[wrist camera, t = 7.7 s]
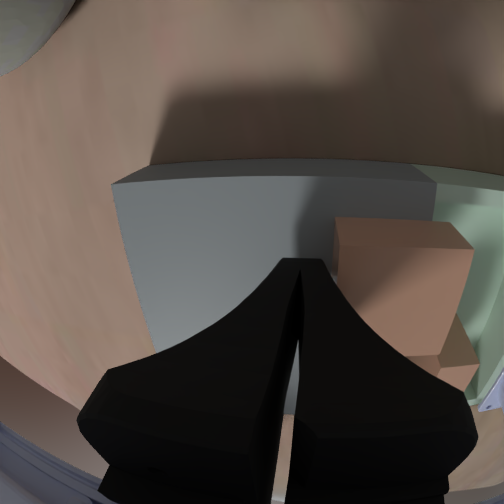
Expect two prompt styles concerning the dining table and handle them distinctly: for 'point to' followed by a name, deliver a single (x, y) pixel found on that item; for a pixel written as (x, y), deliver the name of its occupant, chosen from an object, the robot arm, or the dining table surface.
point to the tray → (477, 263)
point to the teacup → (27, 28)
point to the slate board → (245, 229)
